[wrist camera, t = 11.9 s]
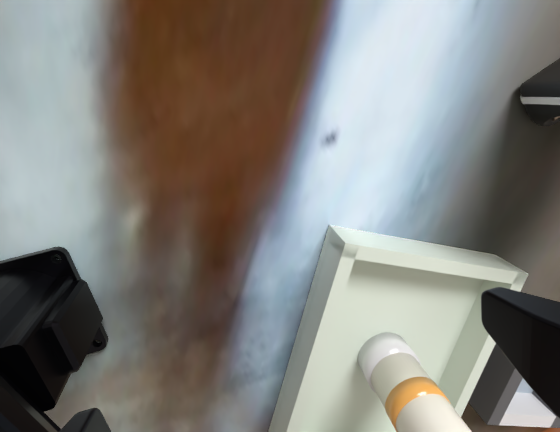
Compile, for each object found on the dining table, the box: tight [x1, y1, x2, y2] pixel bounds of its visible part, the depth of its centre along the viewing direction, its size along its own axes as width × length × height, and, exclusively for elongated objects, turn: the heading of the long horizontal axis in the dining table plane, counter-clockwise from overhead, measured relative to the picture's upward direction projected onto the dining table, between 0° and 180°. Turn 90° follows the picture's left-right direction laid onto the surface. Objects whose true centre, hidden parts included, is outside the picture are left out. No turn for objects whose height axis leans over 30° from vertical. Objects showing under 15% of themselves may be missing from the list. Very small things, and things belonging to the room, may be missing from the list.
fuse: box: [358, 332, 472, 432], centre depth 19 cm, size 4×4×12 cm
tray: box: [268, 225, 528, 432], centre depth 24 cm, size 12×16×3 cm
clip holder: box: [468, 344, 560, 428], centre depth 27 cm, size 7×7×3 cm
